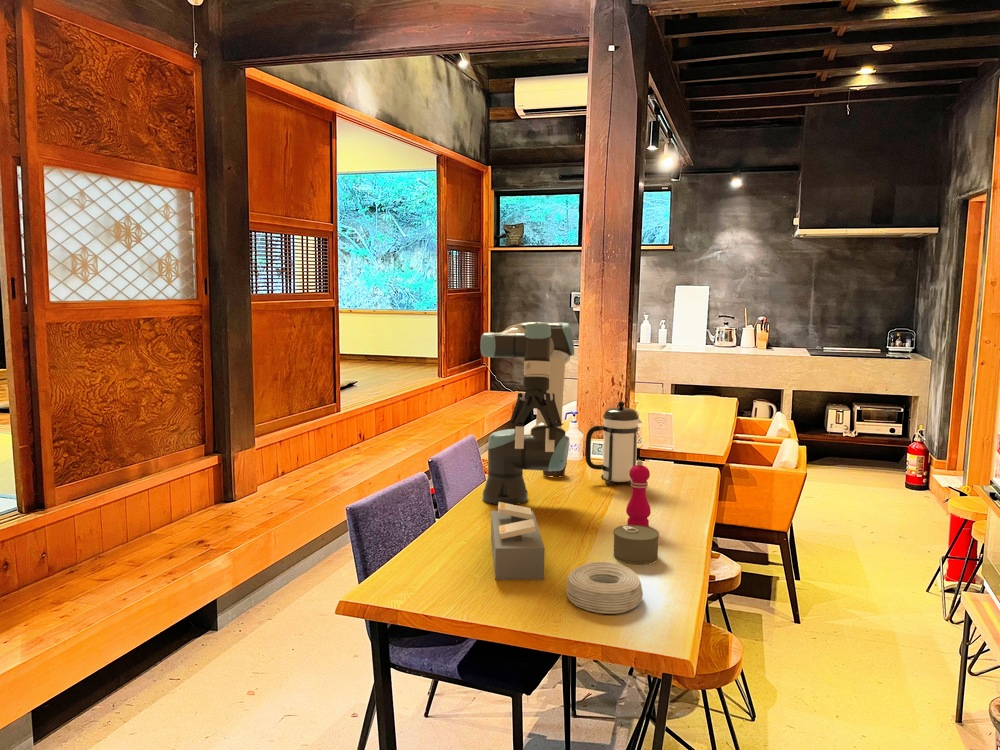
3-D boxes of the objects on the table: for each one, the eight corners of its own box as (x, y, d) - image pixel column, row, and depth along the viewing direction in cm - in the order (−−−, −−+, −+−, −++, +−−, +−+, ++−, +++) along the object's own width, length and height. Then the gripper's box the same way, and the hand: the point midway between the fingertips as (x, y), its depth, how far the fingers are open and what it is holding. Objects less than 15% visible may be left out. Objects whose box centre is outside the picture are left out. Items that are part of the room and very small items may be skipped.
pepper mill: (650, 529, 220) (652, 463, 218) (625, 528, 222) (627, 462, 219) (650, 522, 227) (652, 458, 225) (626, 520, 229) (628, 456, 226)
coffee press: (612, 474, 284) (614, 396, 280) (647, 482, 273) (650, 401, 269) (583, 482, 272) (585, 401, 268) (619, 491, 261) (621, 406, 257)
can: (628, 568, 191) (629, 542, 190) (604, 552, 202) (604, 528, 201) (667, 561, 196) (668, 536, 195) (641, 546, 207) (642, 522, 206)
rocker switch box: (490, 531, 218) (490, 500, 217) (531, 530, 219) (531, 500, 218) (495, 579, 183) (495, 543, 181) (544, 579, 183) (544, 543, 182)
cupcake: (539, 472, 287) (539, 446, 285) (564, 471, 288) (564, 446, 286) (543, 478, 277) (543, 452, 276) (568, 478, 278) (569, 451, 277)
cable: (608, 579, 184) (609, 555, 183) (659, 605, 170) (660, 579, 169) (551, 594, 175) (552, 569, 174) (599, 623, 160) (600, 596, 159)
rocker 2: (499, 531, 192) (498, 525, 192) (533, 523, 192) (532, 518, 192) (501, 539, 186) (499, 533, 186) (536, 531, 186) (535, 525, 186)
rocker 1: (497, 506, 207) (498, 501, 206) (529, 512, 207) (530, 507, 207) (498, 513, 201) (499, 507, 200) (531, 519, 201) (532, 514, 201)
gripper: (499, 376, 223) (497, 447, 222) (555, 375, 203) (553, 453, 202) (519, 377, 227) (517, 447, 226) (575, 376, 207) (573, 453, 206)
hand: (534, 450), depth 214 cm, fingers open, 13 cm apart
